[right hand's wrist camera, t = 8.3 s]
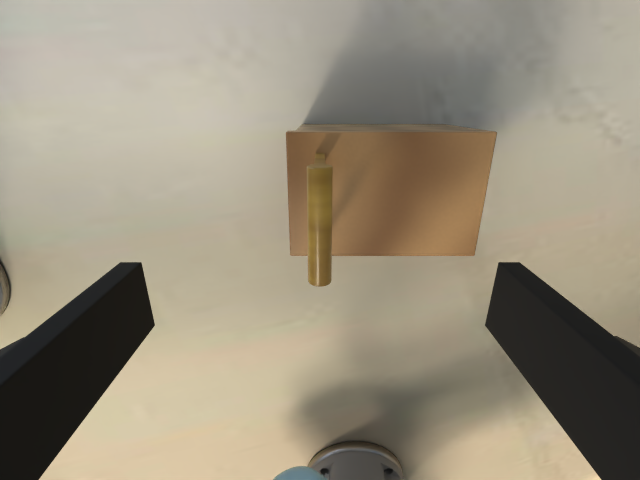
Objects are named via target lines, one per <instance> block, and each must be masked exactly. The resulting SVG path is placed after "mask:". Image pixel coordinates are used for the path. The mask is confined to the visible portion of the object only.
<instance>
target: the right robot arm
mask: <svg viewBox="0 0 640 480" xmlns="http://www.w3.org/2000/svg"><path fill="white" fill-rule="evenodd" d="M8 300H9V284H8V279H7V276H6V274H5V271H4V269H3V267H2V265H1V264H0V315H1V314H2V313H3V312H4V310H5V309H6V306H7V304H8ZM154 326H155V324H154V319H153V314H152V310H151V305H150V300H149V296H148V291H147V287H146V282H145V277H144V273H143V268H142V263H141V262H120V263H119V264H118V265H117V266H115V267H114V268H113V269H111V270H110V271H109V272H108V273H106V274H105V275H104V276H103V277H101V278H100V279H99V280H97V281H96V282H95V283H94V284H92V285H91V286H90V287H89V288H87V289H86V290H85V291H83V292H82V293H81V294H80V295H78V296H77V297H76V298H74V299H73V300H72V301H71V302H69V303H68V304H67V305H66V306H64V307H63V308H62V309H60V310H59V311H58V312H57V313H55V314H54V315H53V316H52V317H50V318H49V319H48V320H46V321H45V322H44V323H43V324H41V325H40V326H39V327H37V328H36V329H35V330H34V331H32V332H31V333H30V334H29V335H27V336H26V337H23V338H21V339H20V340H18V341H16V342H14V343H12V344H10V345H8V346H6V347H4V348H2V349H0V480H39V478H40V477H41V476H42V474H43V473H44V472H45V470H46V469H47V468H48V466H49V465H50V464H51V462H52V461H53V460H54V458H55V457H56V456H57V454H58V453H59V452H60V450H61V449H62V448H63V446H64V445H65V444H66V442H67V441H68V440H69V439H70V437H71V436H72V435H73V433H74V432H75V431H76V429H77V428H78V427H79V425H80V424H81V423H82V421H83V420H84V419H85V417H86V416H87V415H88V413H89V412H90V411H91V409H92V408H93V407H94V405H95V404H96V403H97V401H98V400H99V399H100V397H101V396H102V395H103V393H104V392H105V391H106V389H107V388H108V387H109V385H110V384H111V383H112V381H113V380H114V379H115V377H116V376H117V375H118V373H119V372H120V371H121V370H122V368H123V367H124V366H125V364H126V363H127V362H128V360H129V359H130V358H131V356H132V355H133V354H134V352H135V351H136V350H137V348H138V347H139V346H140V344H141V343H142V342H143V340H144V339H145V338H146V336H147V335H148V334H149V332H150V331H151V330H152V328H153V327H154ZM485 326H486V327H487V328H488V330H489V331H490V332H491V334H492V335H493V336H494V338H495V339H496V340H497V342H498V343H499V344H500V346H501V347H502V348H503V350H504V351H505V352H506V354H507V355H508V356H509V358H510V359H511V360H512V362H513V363H514V364H515V366H516V367H517V368H518V370H519V371H520V372H521V373H522V375H523V376H524V377H525V379H526V380H527V381H528V383H529V384H530V385H531V387H532V388H533V389H534V391H535V392H536V393H537V395H538V396H539V397H540V399H541V400H542V401H543V403H544V404H545V405H546V407H547V408H548V409H549V411H550V412H551V413H552V415H553V416H554V417H555V419H556V420H557V421H558V423H559V424H560V425H561V427H562V428H563V429H564V431H565V432H566V433H567V435H568V436H569V437H570V439H571V440H572V441H573V442H574V444H575V445H576V446H577V448H578V449H579V450H580V452H581V453H582V454H583V456H584V457H585V458H586V460H587V461H588V462H589V464H590V465H591V466H592V468H593V469H594V470H595V472H596V473H597V474H598V476H599V477H600V478H601V480H640V348H639V347H637V346H635V345H633V344H631V343H629V342H627V341H625V340H623V339H621V338H619V337H618V336H613V335H611V334H610V333H609V332H608V331H606V330H605V329H604V328H603V327H601V326H600V325H599V324H597V323H596V322H595V321H594V320H592V319H591V318H590V317H588V316H587V315H586V314H585V313H583V312H582V311H581V310H580V309H578V308H577V307H576V306H574V305H573V304H572V303H571V302H569V301H568V300H567V299H566V298H564V297H563V296H562V295H560V294H559V293H558V292H557V291H555V290H554V289H553V288H551V287H550V286H549V285H548V284H546V283H545V282H544V281H543V280H541V279H540V278H539V277H537V276H536V275H535V274H534V273H532V272H531V271H530V270H529V269H527V268H526V267H525V266H523V265H522V264H521V263H520V262H499V263H498V268H497V273H496V277H495V282H494V286H493V291H492V296H491V300H490V305H489V310H488V314H487V319H486V324H485Z"/></svg>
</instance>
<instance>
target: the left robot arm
mask: <svg viewBox="0 0 640 480" xmlns="http://www.w3.org/2000/svg"><path fill="white" fill-rule="evenodd" d="M273 480H404V477H403V473H402V468H401V465H400V463H399V461H398V459H397V458H396V457H395V456H394V455H393V454H392V453H391V452H390V451H388V450H387V449H385V448H383V447H381V446H378V445H375V444H371V443H366V442H345V443H340V444H336V445H333V446H330V447H328V448H326V449H324V450H322V451H321V452H319V453H318V454H317V455H316V456H315V457H314V458H313V459H312V460H311V461H310V463H309V465H308V467H306V466H298V467H293V468H290V469H288V470H286V471H284V472H282V473H280V474H279V475H277V476H276V477H275V478H274V479H273Z"/></svg>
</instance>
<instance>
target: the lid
mask: <svg viewBox="0 0 640 480" xmlns="http://www.w3.org/2000/svg"><path fill="white" fill-rule="evenodd" d="M496 135H497V132H493V131H287V132H286V147H287V175H288V204H289V232H290V255H291V256H308V281H309V283H310V284H311V285H314V286H326V285H328V284H330V282H331V263H332V256H474V255H475V249H476V244H477V238H478V233H479V227H480V222H481V216H482V211H483V206H484V200H485V195H486V189H487V184H488V178H489V173H490V168H491V162H492V157H493V151H494V146H495V140H496Z"/></svg>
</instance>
